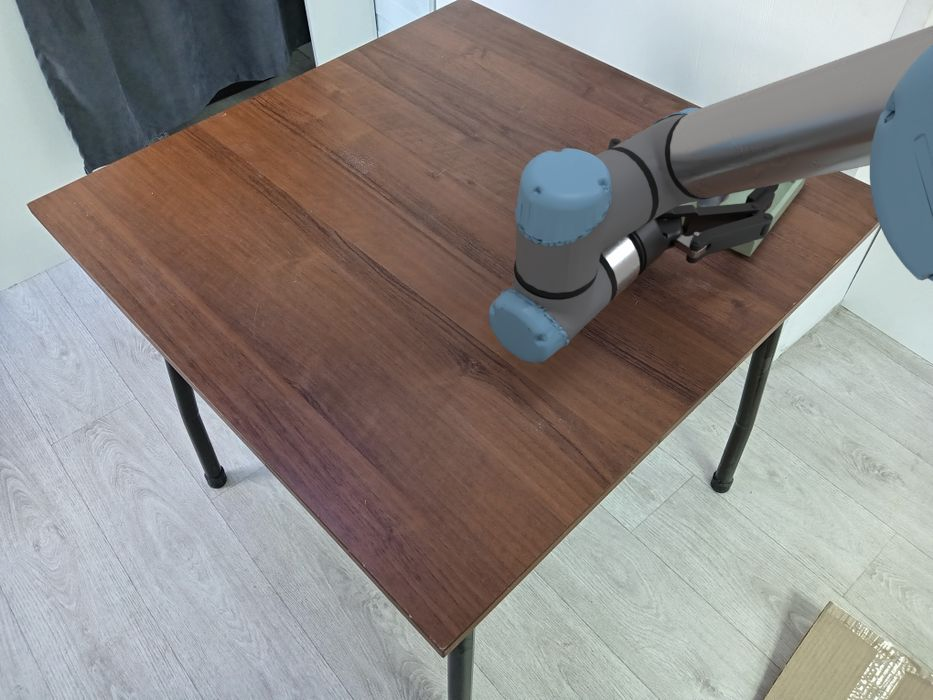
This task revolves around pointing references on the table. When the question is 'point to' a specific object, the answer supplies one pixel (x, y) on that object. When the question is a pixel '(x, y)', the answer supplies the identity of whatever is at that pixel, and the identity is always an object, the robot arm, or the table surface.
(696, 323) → the table surface
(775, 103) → the robot arm
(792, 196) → the tray
